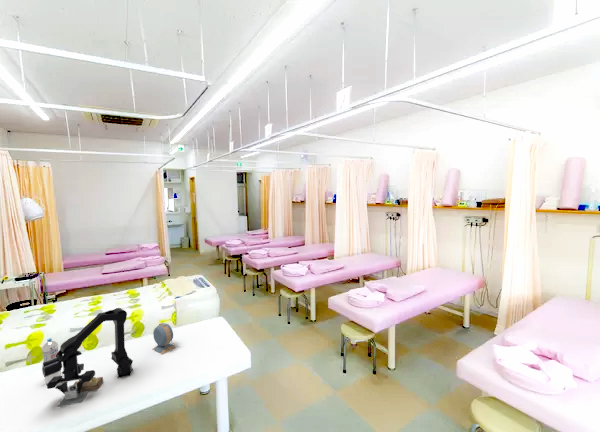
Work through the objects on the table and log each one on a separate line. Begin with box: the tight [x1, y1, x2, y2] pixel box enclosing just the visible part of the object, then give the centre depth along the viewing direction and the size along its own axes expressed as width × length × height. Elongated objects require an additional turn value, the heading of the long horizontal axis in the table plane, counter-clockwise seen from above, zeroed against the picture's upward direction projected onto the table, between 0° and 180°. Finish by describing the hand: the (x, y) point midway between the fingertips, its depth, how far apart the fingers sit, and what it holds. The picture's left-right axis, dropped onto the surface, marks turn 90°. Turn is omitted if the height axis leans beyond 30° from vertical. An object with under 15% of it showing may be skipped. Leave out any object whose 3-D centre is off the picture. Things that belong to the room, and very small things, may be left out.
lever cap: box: [63, 384, 82, 400], centre depth 142 cm, size 5×5×5 cm
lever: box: [89, 376, 99, 386], centre depth 149 cm, size 3×3×3 cm
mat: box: [57, 391, 89, 407], centre depth 142 cm, size 10×8×1 cm
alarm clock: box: [152, 322, 177, 355], centre depth 187 cm, size 14×10×18 cm
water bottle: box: [41, 337, 62, 385], centre depth 156 cm, size 7×7×25 cm
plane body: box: [72, 376, 104, 392], centre depth 150 cm, size 13×6×3 cm, turn 106°
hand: (73, 394), depth 142 cm, fingers closed on lever cap, 5 cm apart
